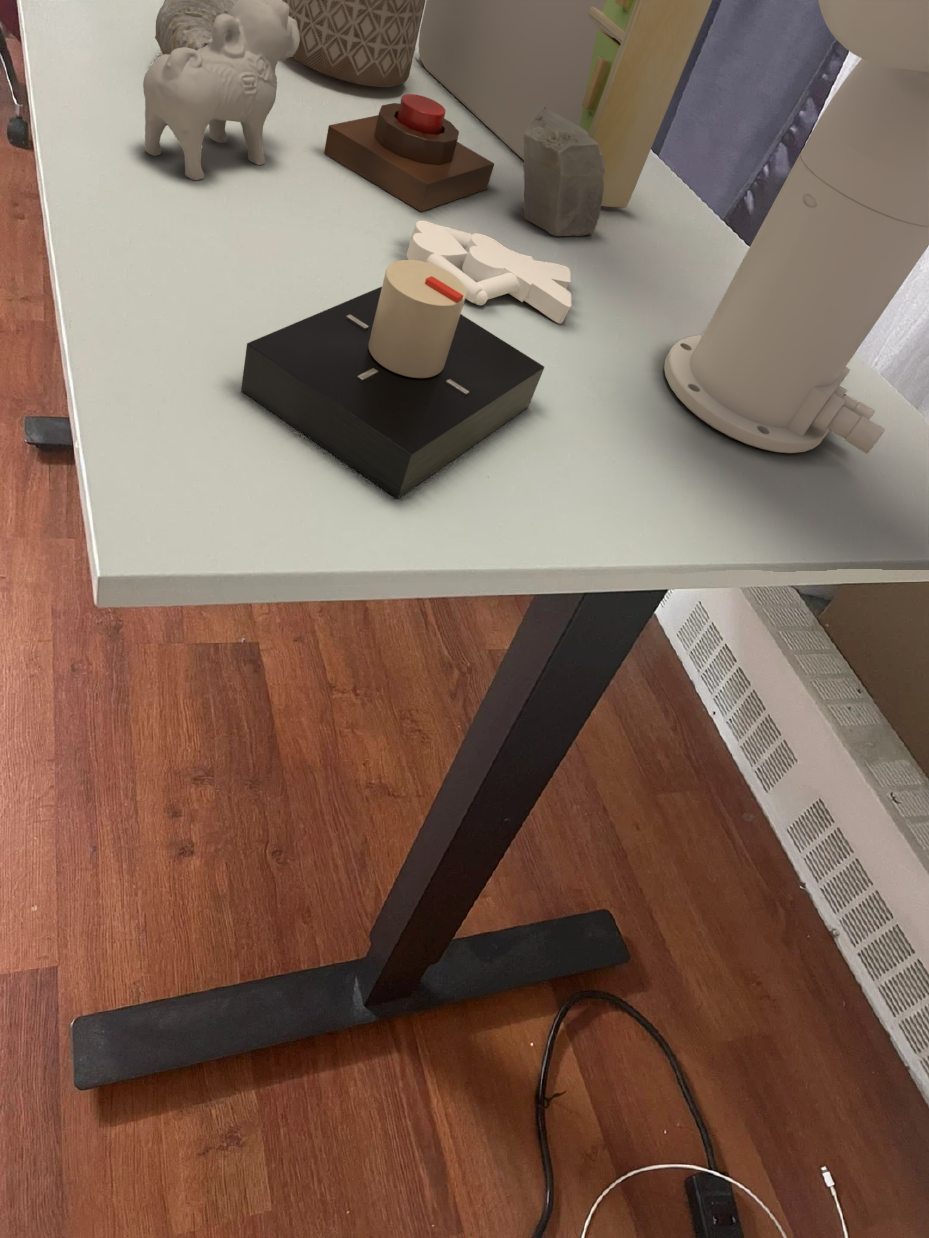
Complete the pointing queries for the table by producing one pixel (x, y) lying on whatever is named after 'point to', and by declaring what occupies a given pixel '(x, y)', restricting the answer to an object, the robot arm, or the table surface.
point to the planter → (358, 38)
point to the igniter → (409, 159)
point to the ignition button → (421, 114)
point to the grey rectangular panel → (511, 58)
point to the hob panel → (386, 393)
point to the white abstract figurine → (492, 268)
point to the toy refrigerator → (635, 82)
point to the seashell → (188, 23)
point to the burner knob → (416, 318)
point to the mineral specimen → (562, 176)
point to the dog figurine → (220, 82)
